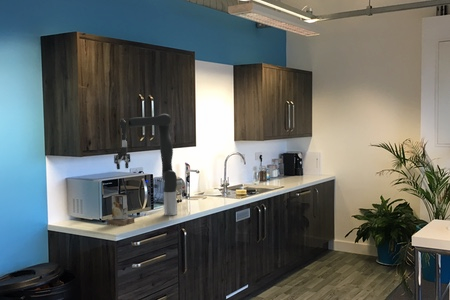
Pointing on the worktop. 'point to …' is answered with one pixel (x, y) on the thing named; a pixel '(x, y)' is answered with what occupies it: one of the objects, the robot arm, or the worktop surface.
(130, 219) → the walnut base
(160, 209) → the worktop surface
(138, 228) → the worktop surface
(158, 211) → the worktop surface
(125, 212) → the coffee box
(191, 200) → the worktop surface
